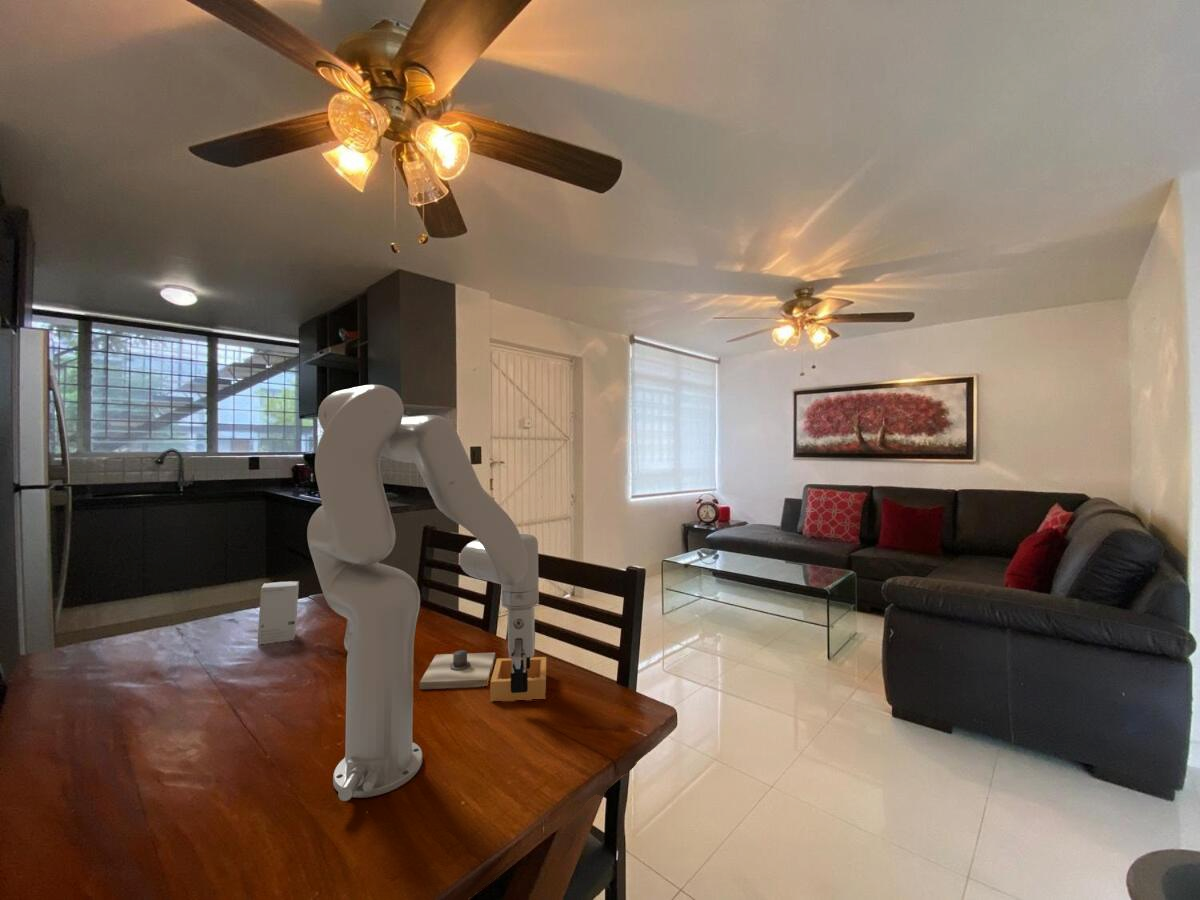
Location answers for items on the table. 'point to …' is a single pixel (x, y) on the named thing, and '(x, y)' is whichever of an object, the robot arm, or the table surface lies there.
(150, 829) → the table surface
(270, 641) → the skincare box
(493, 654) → the board
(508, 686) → the tan square frame
